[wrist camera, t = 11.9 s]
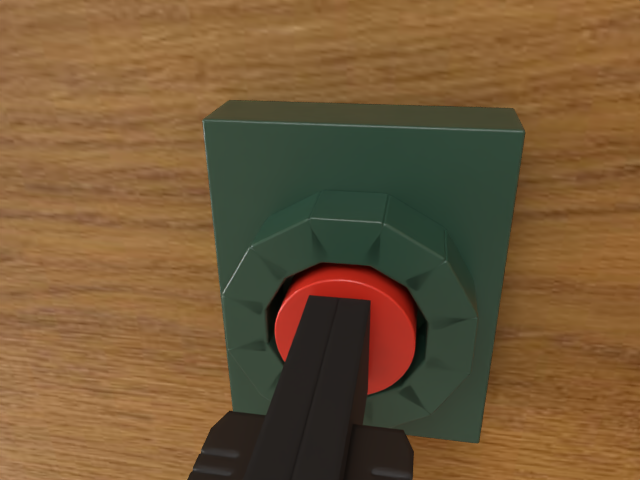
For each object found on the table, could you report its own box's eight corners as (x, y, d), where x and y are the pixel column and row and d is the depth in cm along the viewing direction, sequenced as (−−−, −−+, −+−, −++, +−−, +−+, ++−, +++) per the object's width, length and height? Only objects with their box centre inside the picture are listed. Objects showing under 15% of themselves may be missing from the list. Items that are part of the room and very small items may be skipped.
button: (413, 362, 17) (411, 404, 15) (291, 349, 17) (277, 388, 16) (421, 251, 15) (419, 285, 14) (286, 242, 16) (270, 274, 14)
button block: (474, 396, 20) (483, 492, 16) (250, 372, 21) (214, 456, 18) (514, 107, 15) (538, 154, 12) (228, 99, 17) (172, 139, 13)
